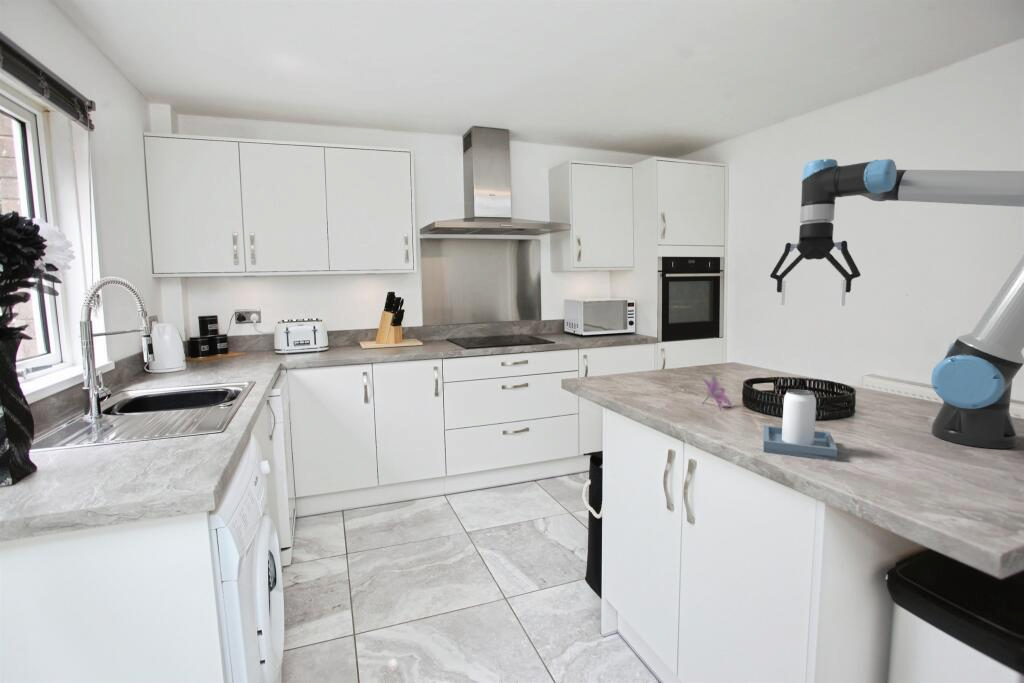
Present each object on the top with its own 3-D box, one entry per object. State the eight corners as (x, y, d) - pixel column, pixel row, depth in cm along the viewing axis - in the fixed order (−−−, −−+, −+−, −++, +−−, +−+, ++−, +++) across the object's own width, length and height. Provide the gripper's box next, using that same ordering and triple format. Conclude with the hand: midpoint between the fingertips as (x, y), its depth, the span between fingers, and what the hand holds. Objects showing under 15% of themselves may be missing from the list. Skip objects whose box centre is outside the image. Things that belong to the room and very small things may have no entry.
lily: (699, 415, 150) (717, 389, 146) (681, 392, 160) (697, 367, 156) (730, 423, 154) (748, 398, 150) (710, 400, 164) (726, 377, 160)
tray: (829, 442, 121) (829, 432, 120) (836, 461, 108) (837, 449, 108) (763, 435, 127) (764, 425, 126) (763, 451, 114) (764, 441, 114)
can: (818, 448, 114) (821, 395, 112) (786, 446, 115) (789, 394, 113) (807, 439, 120) (810, 389, 118) (777, 437, 121) (780, 388, 120)
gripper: (872, 221, 129) (866, 305, 132) (762, 227, 140) (759, 304, 143) (878, 218, 122) (871, 306, 125) (762, 224, 133) (759, 305, 136)
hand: (811, 305), depth 134 cm, fingers open, 13 cm apart
